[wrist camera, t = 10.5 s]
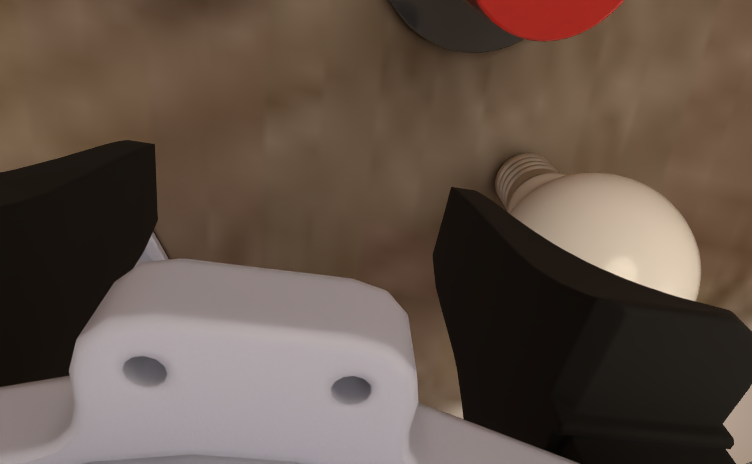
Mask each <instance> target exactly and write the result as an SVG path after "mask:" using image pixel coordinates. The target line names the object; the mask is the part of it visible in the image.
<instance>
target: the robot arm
mask: <svg viewBox="0 0 752 464" xmlns="http://www.w3.org/2000/svg"><path fill="white" fill-rule="evenodd" d="M157 220H158V216H157V190H156V163H155V144H150V143H143V142H136V141H130V140H125V141H118V142H113V143H109V144H105V145H102V146H98V147H95V148H92V149H88V150H85V151H81V152H78V153H75V154H71V155H68V156H65V157H61V158H58V159H54V160H50V161H46V162H42V163H39V164H35V165H31V166H27V167H23V168H19V169H15V170H11V171H6V172H1V173H0V464H736V463H735V462H734V460H733V459H732V458H731V456H730V455H729V453H728V452H727V451H726V449H731V447H732V446H733V445H734V439H733V437H732V436H731V435H730V433H729V432H728V431H727V429H726V428H725V427H724V426H723V422H724V421H725V420H726V418H727V417H728V416H729V414H730V413H731V412H732V410H733V409H734V407H735V406H736V405H737V404H738V402H739V401H740V400H741V398H742V397H743V396H744V395H745V393H746V392H747V391H748V389H749V388H750V386H751V384H752V331H751V330H750V329H749V328H748V327H747V326H746V325H745V324H744V323H743V322H742V321H741V320H740V319H739V318H738V317H737V316H736V315H735V314H734V313H733V312H731V311H729V310H726V309H722V308H719V307H715V306H711V305H707V304H703V303H700V302H696V301H692V300H688V299H684V298H681V297H677V296H674V295H670V294H667V293H664V292H661V291H658V290H655V289H652V288H649V287H646V286H643V285H641V284H638V283H635V282H633V281H630V280H627V279H625V278H622V277H620V276H618V275H615V274H613V273H611V272H608V271H606V270H603V269H601V268H599V267H597V266H595V265H592V264H590V263H588V262H586V261H584V260H582V259H580V258H579V257H577V256H575V255H573V254H571V253H569V252H567V251H565V250H564V249H562V248H560V247H558V246H557V245H555V244H553V243H552V242H550V241H549V240H547V239H546V238H544V237H542V236H541V235H539V234H538V233H536V232H535V231H533V230H532V229H530V228H529V227H527V226H526V225H525V224H523V223H522V222H520V221H519V220H518V219H516V218H515V217H513V216H512V215H511V214H509V213H508V212H507V211H505V210H504V209H503V208H501V207H500V206H498V205H497V204H496V203H494V202H493V201H492V200H490V199H489V198H487V197H486V196H484V195H483V194H481V193H479V192H477V191H475V190H468V189H461V188H454V187H451V190H450V194H449V198H448V201H447V205H446V208H445V212H444V216H443V219H442V223H441V227H440V230H439V234H438V238H437V241H436V245H435V248H434V252H433V264H434V275H435V284H436V289H437V293H438V297H439V301H440V305H441V308H442V312H443V316H444V319H445V323H446V327H447V330H448V334H449V338H450V342H451V345H452V349H453V353H454V357H455V362H456V366H457V372H458V379H459V386H460V393H461V400H462V409H463V417H464V419H461V418H458V417H456V416H453V415H451V414H448V413H445V412H443V411H440V410H437V409H435V408H432V407H429V406H427V405H424V404H422V403H419V402H418V387H417V372H416V366H415V359H414V352H413V346H412V339H411V332H410V326H409V319H408V314H407V313H406V312H405V311H404V310H403V308H402V307H401V306H400V305H399V304H398V303H397V302H396V300H395V299H394V298H393V297H392V296H391V295H390V294H389V292H388V291H386V290H384V289H381V288H378V287H375V286H372V285H369V284H366V283H364V282H361V281H358V280H355V279H352V278H344V277H336V276H328V275H319V274H311V273H302V272H294V271H286V270H277V269H269V268H260V267H252V266H243V265H235V264H227V263H218V262H210V261H201V260H193V259H185V258H180V259H170V260H169V259H168V257H167V255H166V253H165V252H164V250H163V248H162V246H161V245H160V243H159V241H158V239H157V237H156V236H155V234H154V232H153V230H154V228H155V225H156V223H157ZM747 464H752V462H749V463H747Z"/></svg>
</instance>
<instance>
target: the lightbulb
mask: <svg viewBox="0 0 752 464" xmlns="http://www.w3.org/2000/svg"><path fill="white" fill-rule="evenodd" d="M495 188H496V192H497V194H498V196H499V198H500V200H501V201H502V203H503V204H504V206H505V208H506V209H507V212H508V213H509V214H511V215H512V216H513V217H515V218H516V219H518V220H519V221H520V222H522V223H523V224H525V225H526V226H527V227H529V228H530V229H532V230H533V231H535V232H536V233H538V234H539V235H541V236H542V237H544V238H546V239H547V240H549V241H550V242H552V243H553V244H555V245H557V246H558V247H560V248H562V249H564V250H565V251H567V252H569V253H571V254H573V255H575V256H577V257H579V258H580V259H582V260H584V261H586V262H588V263H590V264H592V265H595V266H597V267H599V268H601V269H603V270H606V271H608V272H611V273H613V274H615V275H618V276H620V277H622V278H625V279H627V280H630V281H633V282H635V283H638V284H641V285H643V286H646V287H649V288H652V289H655V290H658V291H661V292H664V293H667V294H670V295H674V296H677V297H681V298H684V299H688V300H692V301H696V300H697V297H698V293H699V289H700V283H701V260H700V254H699V250H698V246H697V243H696V240H695V238H694V235H693V233H692V231H691V229H690V227H689V225H688V223H687V222H686V220H685V219H684V217H683V216H682V215H681V213H680V212H679V211H678V210H677V208H676V207H675V206H674V205H673V204H672V203H671V202H670V201H669V200H667V199H666V198H665V197H664V196H663V195H661V194H660V193H658V192H657V191H656V190H654V189H652V188H651V187H649V186H647V185H645V184H643V183H641V182H639V181H637V180H634V179H631V178H628V177H625V176H621V175H617V174H611V173H602V172H585V173H576V174H571V175H564V174H560V173H559V172H558V171H557V170H556V169H555V168H554V167H553V166H552V164H551V163H550V162H549V161H548V160H547V159H546V158H545V157H543V156H541V155H539V154H535V153H523V154H519V155H516V156H514V157H512V158H511V159H509V160H508V161H507V162H505V163H504V164H503V166H502V167H501V168H500V170H499V171H498V173H497V176H496V180H495Z"/></svg>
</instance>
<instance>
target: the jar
mask: <svg viewBox="0 0 752 464" xmlns="http://www.w3.org/2000/svg"><path fill="white" fill-rule="evenodd" d="M461 1H463V2H465V3H466V4H468V5H470V6H472V7H473V8H474V9H475V10H476V11H477V13H478V14H479V15H480V16H482V17H483V18H484V19H486V20H487V21H488V22H490V23H492V24H493V25H495V26H497V27H498V28H500V29H502V30H504V31H506V32H507V33H509V34H511V35H514V36H516V37H519V38H522V39H526V40H531V41H543V42H545V41H557V40H561V39H566V38H569V37H572V36H575V35H578V34H580V33H582V32H584V31H586V30H588V29H590V28H592V27H594V26H595V25H597V24H598V23H600V22H601V21H603V20H604V19H605V18H606V17H608V16H609V15H610V14H611V13H613V12H614V11H615V10H616V9H617V8H618V7H619V6H620V5H621V4H622V3H623V1H624V0H461Z"/></svg>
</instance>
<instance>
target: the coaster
mask: <svg viewBox="0 0 752 464" xmlns="http://www.w3.org/2000/svg"><path fill="white" fill-rule="evenodd" d="M390 2H391V3H392V5H393V7H394V8H395V10H396V11H397V13H398V14H399V15H400V16H401V18H402V19H403V20H404V21H405V23H406V24H407V25H409V26H410V27H411V28H412V29H413V30H414V31H415V32H416V33H417V34H419V35H420V36H422V37H423V38H424V39H426V40H428V41H430V42H432V43H433V44H435V45H437V46H440V47H443V48H446V49H449V50H453V51H458V52H466V53H481V52H490V51H494V50H499V49H502V48H505V47H508V46H511V45H513V44H515V43H517V42H519V41H521V40H523V39H522V38H519V37H516V36H514V35H511V34H509V33H507V32H506V31H504V30H502V29H500V28H498V27H497V26H495V25H493V24H492V23H490V22H488V21H487V20H486V19H484V18H483V17H482V16H480V15H479V14H478V13H477V11H476V10H475V9H474V8H473V7H472V6H470V5H468V4H466V3H465V2H463V1H461V0H390Z"/></svg>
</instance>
